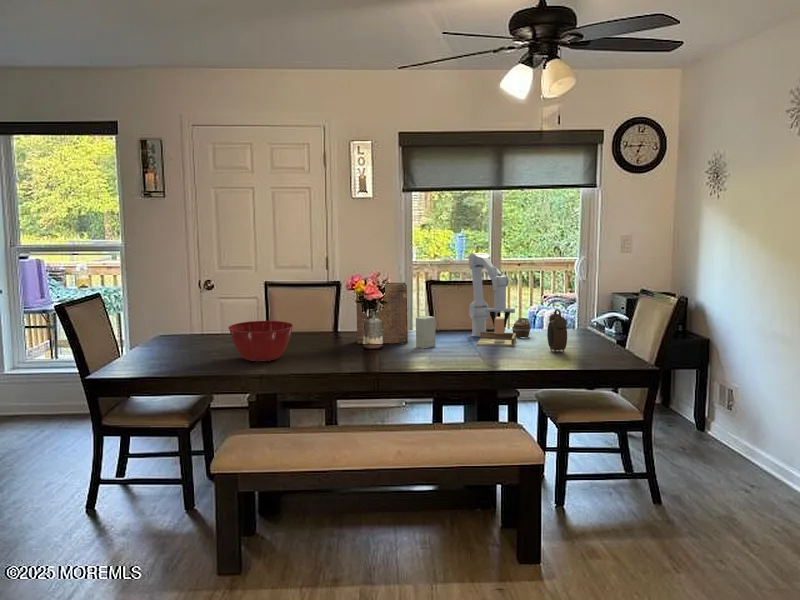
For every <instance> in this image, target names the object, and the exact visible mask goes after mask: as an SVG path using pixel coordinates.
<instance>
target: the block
mask: <svg viewBox="0 0 800 600" xmlns="http://www.w3.org/2000/svg"><path fill="white" fill-rule="evenodd" d="M504 322H505V316H495V319H494V325H493V328H494V331H493V332H494V334H504V333H506V327H504Z"/></svg>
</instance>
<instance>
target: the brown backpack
mask: <svg viewBox="0 0 800 600" xmlns="http://www.w3.org/2000/svg"><path fill="white" fill-rule="evenodd" d="M548 317H549V318H548V325H547V344H548V346H549V349H550V350H551V351H554V354H557V353H556V352H557V351H562V353H563V354H565V349H566V347H567V344H568V329H567V320H566V318H565V317H563V316H562V312H561V310H560V309H559V308H556V309H554V312H553V313H552V314H550V315H549V316H548Z"/></svg>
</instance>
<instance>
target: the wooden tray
mask: <svg viewBox="0 0 800 600" xmlns="http://www.w3.org/2000/svg"><path fill="white" fill-rule="evenodd" d="M516 342H517V338H516V333H513V332H504V334H494V331H493V332H492V331H491V332H490V331H486V332H480V337H479V339H478V341H477V343H476V346H478V347H479V346H481V347H503V346H512V347H511V348H514V347H515V345H516Z"/></svg>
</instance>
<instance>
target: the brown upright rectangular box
mask: <svg viewBox="0 0 800 600" xmlns="http://www.w3.org/2000/svg"><path fill="white" fill-rule="evenodd" d="M385 283H386V284H385V285H384V287H385V296H384V298H383V300H384V301H386V302H387V304H385V305H384V308H382V310H380V311H378V312H377V317H378V318H379V319H380V320H382V329H383V340H384V343H407V344H408V343H409V341H408V340H409V337H408V332H409V331H408V288H407V287H408V285H407V284H406V282H385ZM355 293H356V292H355ZM355 296H356V297H355V300H356V343H357V345H358V344H361V343H362V339H363V323H364V319H365V318H366V317H367V313H362V306H361V304H359V303H357V301H358V299H359V296H358V294H357V293H356V294H355Z"/></svg>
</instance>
